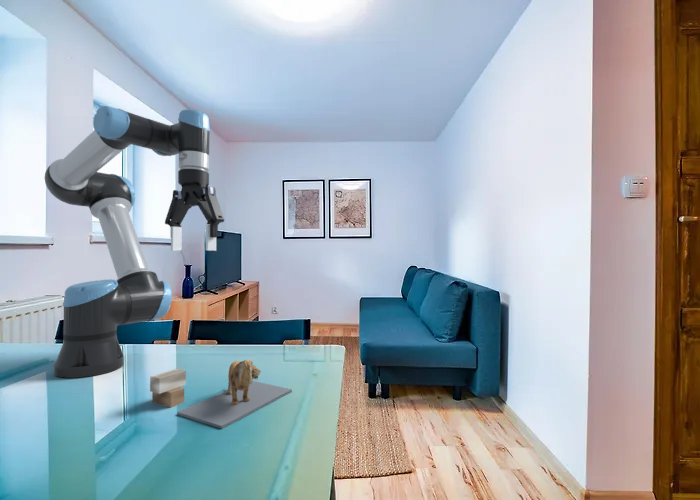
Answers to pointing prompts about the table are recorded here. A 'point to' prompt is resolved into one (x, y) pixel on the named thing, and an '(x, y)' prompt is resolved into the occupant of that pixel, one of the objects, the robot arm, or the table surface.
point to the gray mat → (224, 413)
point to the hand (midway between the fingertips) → (193, 250)
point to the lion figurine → (241, 378)
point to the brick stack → (168, 387)
